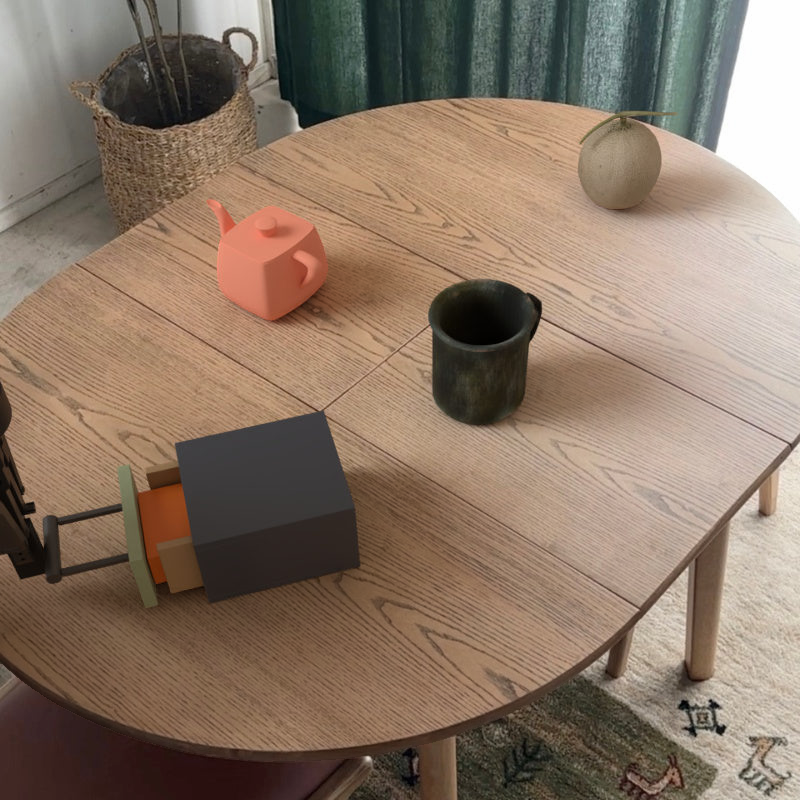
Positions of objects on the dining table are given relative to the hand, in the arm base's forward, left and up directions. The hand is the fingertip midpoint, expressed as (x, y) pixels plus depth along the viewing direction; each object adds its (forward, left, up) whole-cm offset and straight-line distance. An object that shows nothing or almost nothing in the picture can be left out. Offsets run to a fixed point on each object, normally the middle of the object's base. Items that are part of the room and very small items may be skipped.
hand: (34, 569), depth 98 cm
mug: (+49, +13, -3) cm, 51 cm away
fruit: (+76, +41, -3) cm, 87 cm away
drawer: (+12, 0, -2) cm, 12 cm away
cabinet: (+22, 0, -3) cm, 22 cm away
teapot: (+29, +37, -3) cm, 47 cm away
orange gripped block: (+13, 0, -1) cm, 13 cm away
